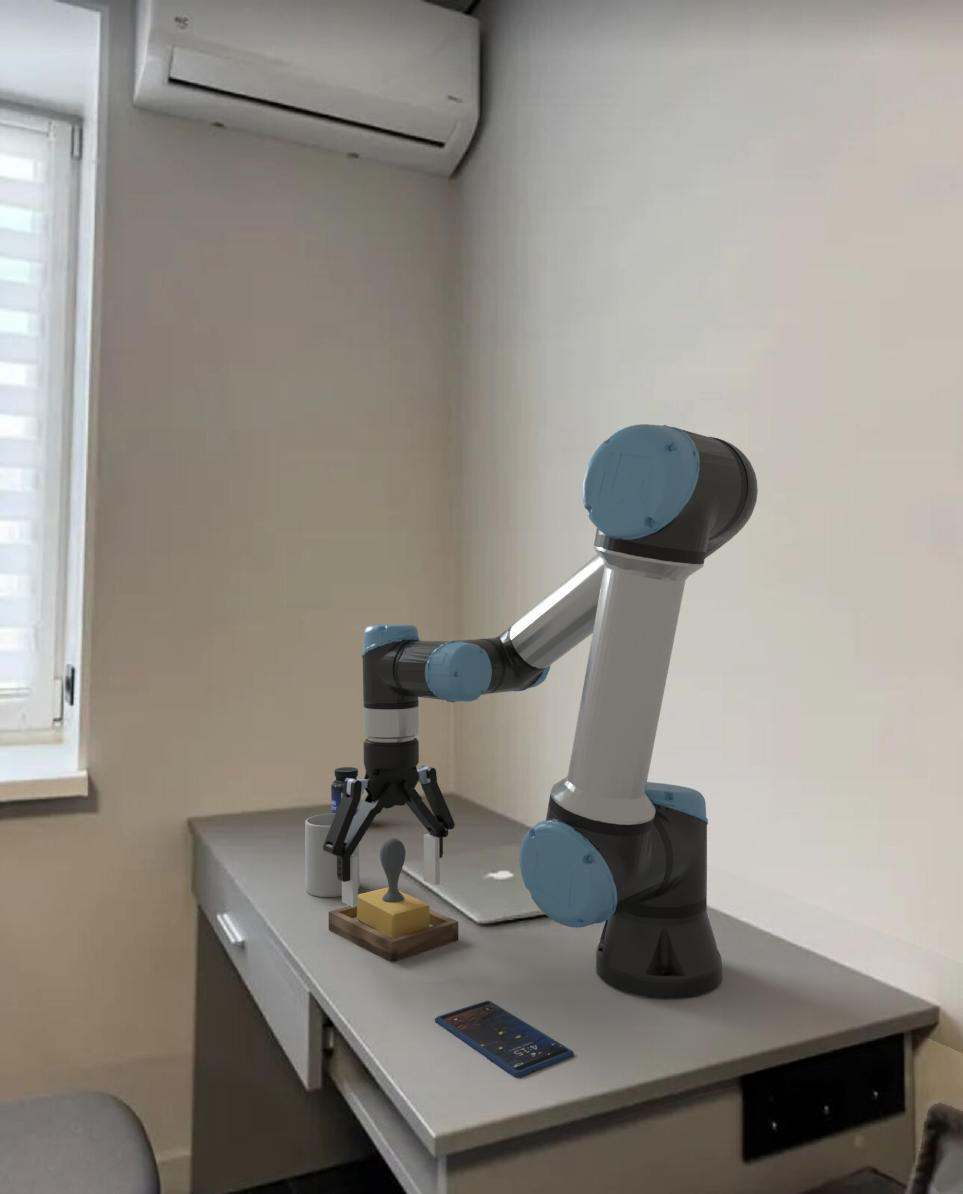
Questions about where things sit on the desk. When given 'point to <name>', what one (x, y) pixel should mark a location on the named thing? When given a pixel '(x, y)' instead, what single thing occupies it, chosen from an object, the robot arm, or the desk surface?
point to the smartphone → (504, 1038)
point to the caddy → (388, 947)
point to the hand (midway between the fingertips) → (392, 893)
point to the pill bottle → (341, 786)
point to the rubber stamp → (392, 899)
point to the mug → (321, 859)
